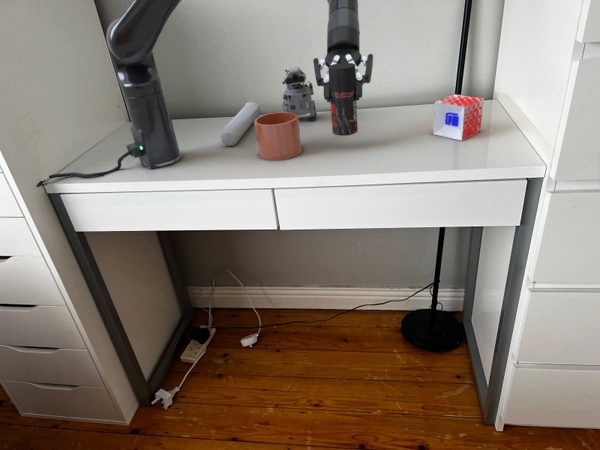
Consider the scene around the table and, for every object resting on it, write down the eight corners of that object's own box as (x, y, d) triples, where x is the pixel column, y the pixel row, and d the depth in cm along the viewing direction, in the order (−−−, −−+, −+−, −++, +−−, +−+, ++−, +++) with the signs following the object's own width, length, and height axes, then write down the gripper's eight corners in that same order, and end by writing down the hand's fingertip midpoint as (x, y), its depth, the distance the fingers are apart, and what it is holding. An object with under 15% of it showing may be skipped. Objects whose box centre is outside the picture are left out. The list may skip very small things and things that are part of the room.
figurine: (279, 128, 126) (272, 74, 119) (289, 116, 136) (283, 65, 128) (311, 127, 124) (305, 72, 116) (318, 115, 134) (314, 62, 126)
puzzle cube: (480, 130, 108) (483, 98, 104) (461, 140, 104) (464, 106, 100) (451, 125, 114) (453, 94, 110) (432, 134, 110) (434, 102, 106)
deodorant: (356, 135, 103) (353, 67, 95) (330, 136, 104) (326, 69, 97) (358, 126, 108) (356, 62, 100) (334, 127, 109) (330, 63, 102)
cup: (277, 163, 104) (273, 128, 100) (251, 154, 111) (245, 121, 107) (310, 149, 109) (307, 115, 105) (282, 141, 117) (278, 109, 112)
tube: (238, 133, 114) (262, 104, 135) (218, 127, 114) (245, 99, 135) (235, 151, 117) (259, 120, 138) (215, 146, 117) (242, 116, 138)
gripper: (310, 26, 102) (309, 92, 98) (374, 21, 100) (375, 88, 96) (315, 47, 109) (313, 109, 105) (374, 42, 107) (375, 106, 103)
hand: (343, 99), depth 101 cm, fingers closed on deodorant, 6 cm apart
